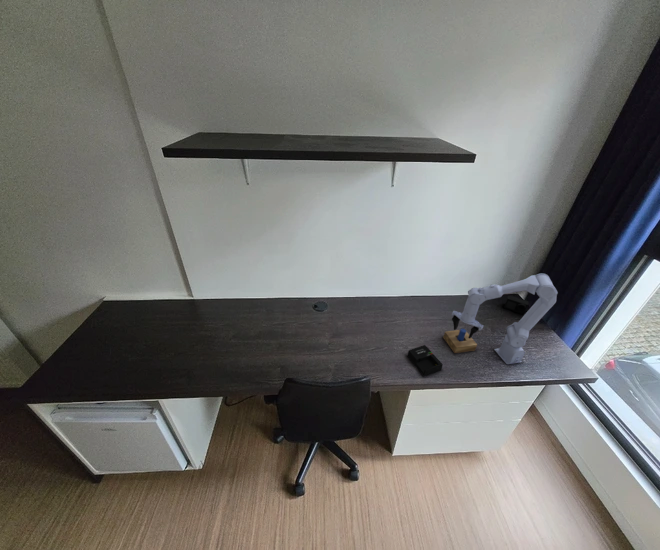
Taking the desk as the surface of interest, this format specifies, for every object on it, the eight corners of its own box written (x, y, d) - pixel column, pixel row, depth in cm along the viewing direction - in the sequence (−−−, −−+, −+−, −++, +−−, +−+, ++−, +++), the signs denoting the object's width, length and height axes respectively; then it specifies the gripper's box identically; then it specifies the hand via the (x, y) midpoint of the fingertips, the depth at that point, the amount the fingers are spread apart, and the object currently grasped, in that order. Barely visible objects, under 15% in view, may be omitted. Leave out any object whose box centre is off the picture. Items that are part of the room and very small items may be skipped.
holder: (475, 350, 142) (477, 344, 140) (454, 353, 140) (456, 347, 138) (462, 334, 151) (464, 329, 149) (443, 337, 150) (444, 331, 147)
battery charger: (407, 355, 139) (408, 349, 137) (423, 350, 142) (425, 344, 140) (423, 376, 129) (425, 370, 126) (441, 370, 132) (443, 364, 130)
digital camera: (503, 309, 170) (507, 299, 166) (504, 304, 174) (508, 295, 170) (523, 315, 165) (528, 306, 161) (524, 310, 169) (528, 301, 165)
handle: (462, 344, 146) (467, 330, 141) (459, 346, 144) (464, 333, 139) (457, 340, 148) (462, 327, 143) (454, 343, 146) (459, 330, 141)
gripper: (489, 315, 132) (480, 337, 140) (459, 300, 141) (453, 321, 149) (482, 322, 128) (474, 344, 136) (452, 306, 137) (445, 327, 145)
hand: (462, 332), depth 142 cm, fingers open, 7 cm apart
